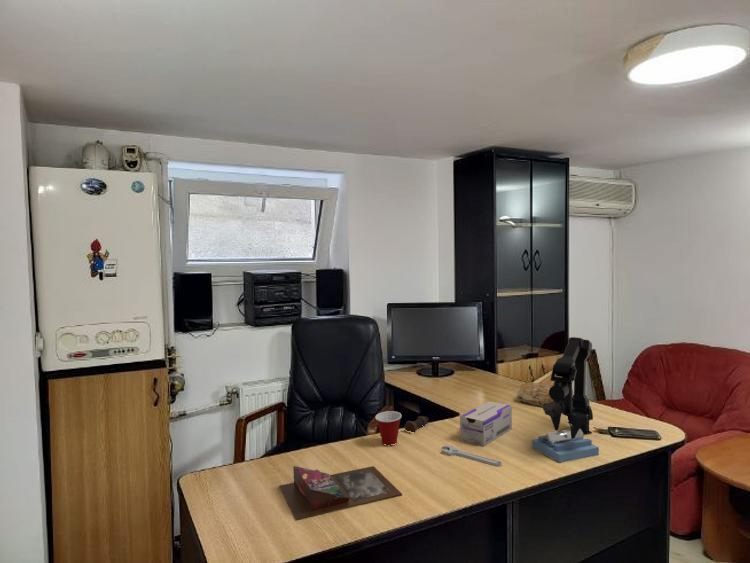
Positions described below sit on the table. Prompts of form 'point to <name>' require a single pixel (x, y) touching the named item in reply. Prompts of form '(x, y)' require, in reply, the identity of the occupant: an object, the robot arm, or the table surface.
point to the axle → (562, 437)
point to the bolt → (416, 423)
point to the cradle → (566, 449)
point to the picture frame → (335, 491)
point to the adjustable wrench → (469, 456)
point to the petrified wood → (534, 394)
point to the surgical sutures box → (485, 423)
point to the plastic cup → (388, 426)
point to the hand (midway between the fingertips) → (564, 434)
